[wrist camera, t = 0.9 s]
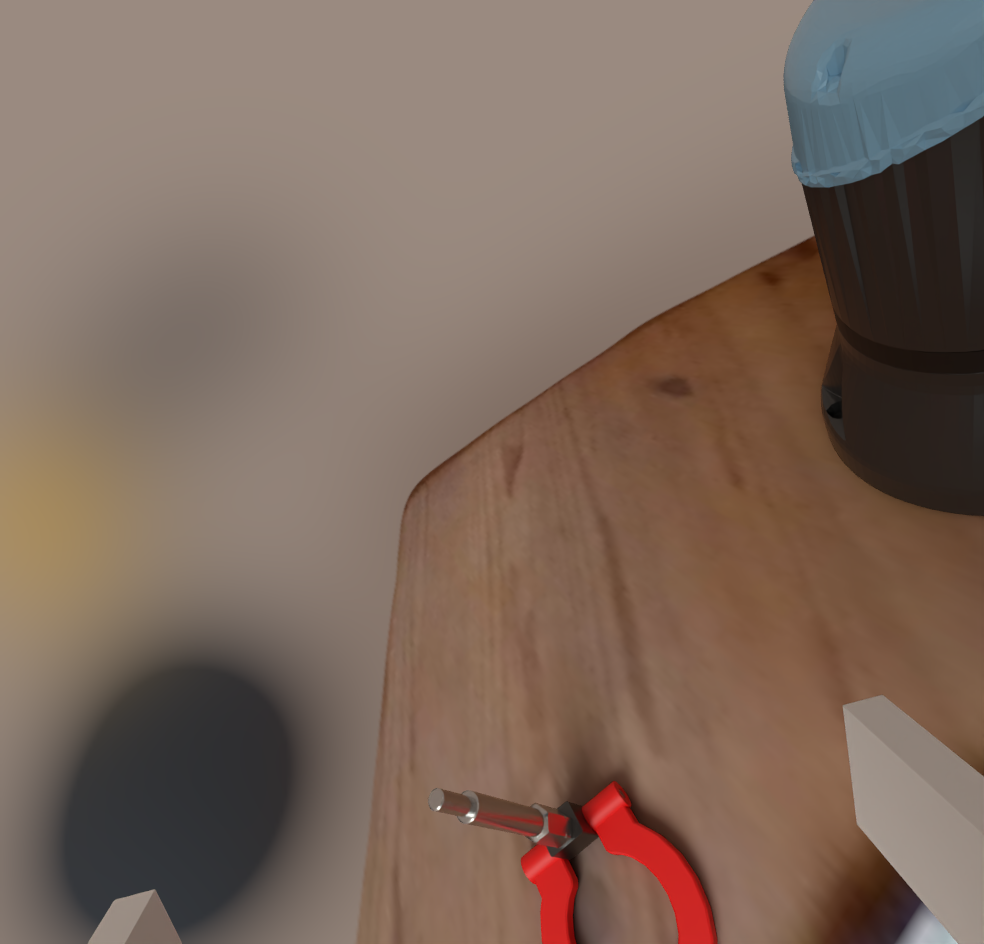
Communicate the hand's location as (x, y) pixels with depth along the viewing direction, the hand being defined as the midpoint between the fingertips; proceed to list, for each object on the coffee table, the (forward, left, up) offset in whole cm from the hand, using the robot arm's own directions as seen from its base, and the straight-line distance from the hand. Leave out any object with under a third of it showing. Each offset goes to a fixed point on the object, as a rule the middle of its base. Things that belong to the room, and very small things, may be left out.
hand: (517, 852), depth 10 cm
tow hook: (+5, -5, -21) cm, 22 cm away
